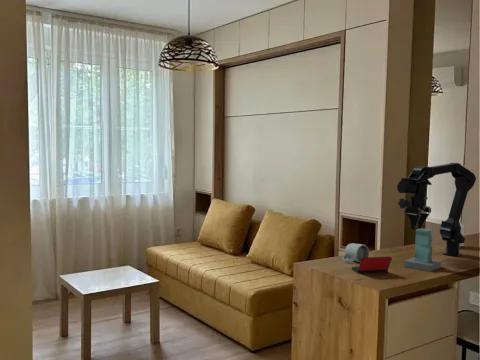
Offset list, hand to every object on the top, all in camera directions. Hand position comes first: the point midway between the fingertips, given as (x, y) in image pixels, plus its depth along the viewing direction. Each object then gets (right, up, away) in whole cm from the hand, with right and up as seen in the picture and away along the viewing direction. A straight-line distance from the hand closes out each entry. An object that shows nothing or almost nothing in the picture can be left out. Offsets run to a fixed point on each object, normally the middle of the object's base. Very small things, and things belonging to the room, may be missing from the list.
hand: (416, 228), depth 207 cm
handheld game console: (-27, -15, -25) cm, 40 cm away
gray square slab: (-3, -14, -16) cm, 21 cm away
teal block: (-3, -12, -16) cm, 20 cm away
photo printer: (+30, -12, +26) cm, 41 cm away
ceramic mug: (-30, -14, -7) cm, 33 cm away
